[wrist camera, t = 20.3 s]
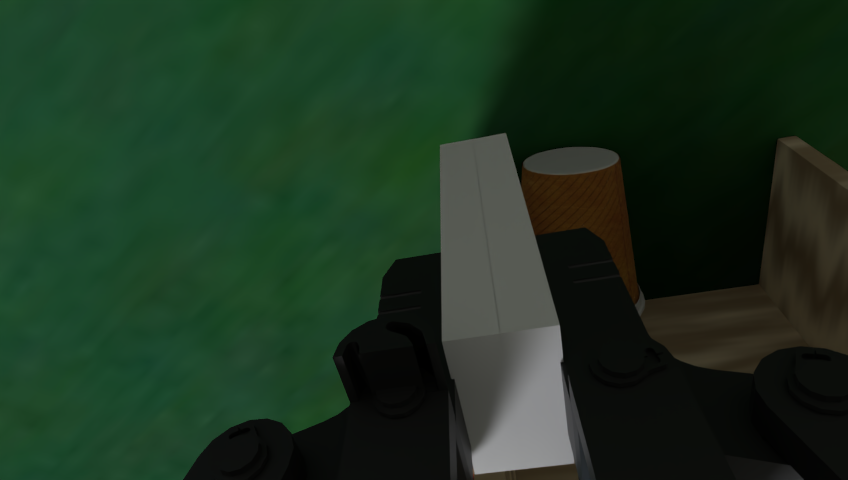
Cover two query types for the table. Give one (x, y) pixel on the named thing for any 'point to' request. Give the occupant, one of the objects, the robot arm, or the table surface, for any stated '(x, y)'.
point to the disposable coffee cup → (582, 202)
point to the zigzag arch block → (763, 286)
